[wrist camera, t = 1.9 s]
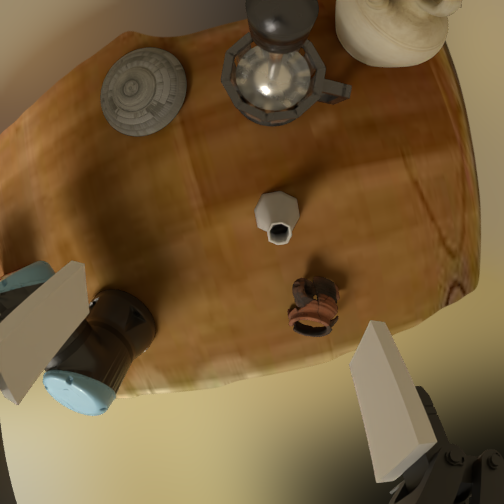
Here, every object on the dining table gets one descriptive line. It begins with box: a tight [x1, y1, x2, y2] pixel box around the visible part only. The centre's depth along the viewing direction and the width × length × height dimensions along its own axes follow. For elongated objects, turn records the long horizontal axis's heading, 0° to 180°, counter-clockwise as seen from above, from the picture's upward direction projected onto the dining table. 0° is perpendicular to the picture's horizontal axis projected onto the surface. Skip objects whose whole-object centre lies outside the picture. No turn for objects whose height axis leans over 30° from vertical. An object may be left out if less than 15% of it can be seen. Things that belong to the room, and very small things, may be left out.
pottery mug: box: [287, 277, 340, 337], centre depth 50 cm, size 12×10×8 cm
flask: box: [254, 191, 300, 245], centre depth 43 cm, size 7×7×10 cm
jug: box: [335, 0, 462, 67], centre depth 23 cm, size 15×16×25 cm
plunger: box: [236, 0, 319, 111], centre depth 20 cm, size 8×8×21 cm
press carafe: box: [221, 32, 352, 126], centre depth 34 cm, size 15×12×13 cm
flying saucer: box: [101, 47, 187, 136], centre depth 38 cm, size 15×15×6 cm
